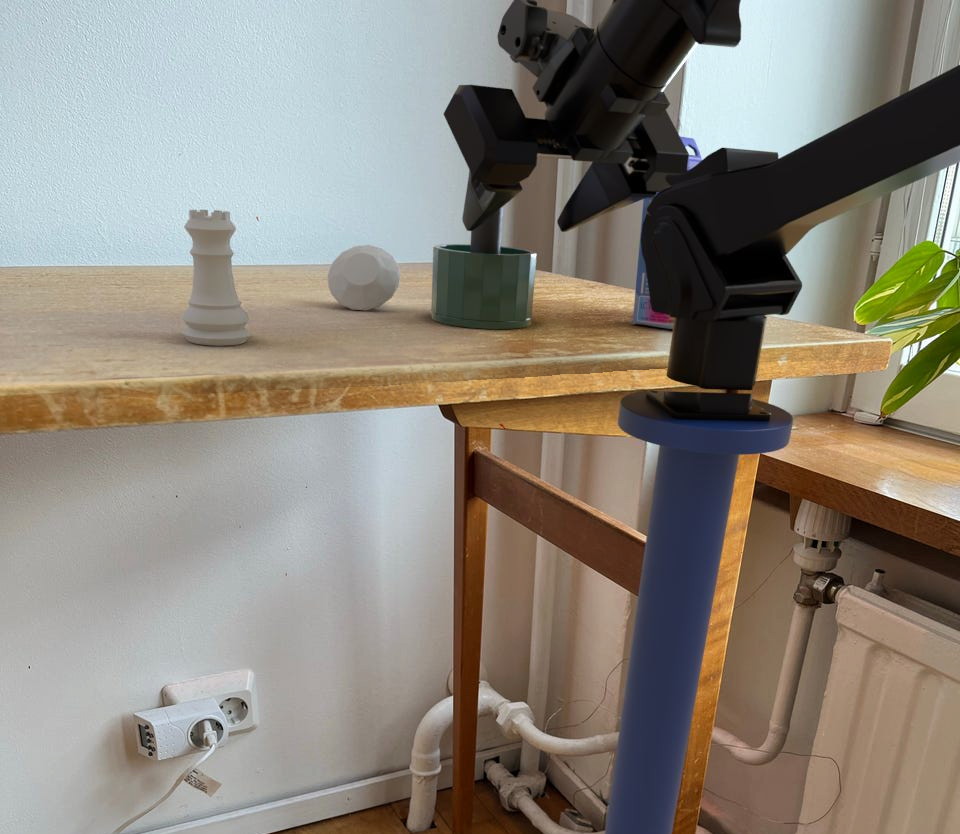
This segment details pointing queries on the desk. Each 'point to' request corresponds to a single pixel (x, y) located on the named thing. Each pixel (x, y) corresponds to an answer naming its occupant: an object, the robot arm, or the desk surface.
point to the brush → (488, 235)
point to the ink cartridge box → (642, 297)
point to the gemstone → (363, 277)
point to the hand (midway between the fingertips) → (515, 226)
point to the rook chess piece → (213, 283)
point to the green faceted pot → (482, 287)
